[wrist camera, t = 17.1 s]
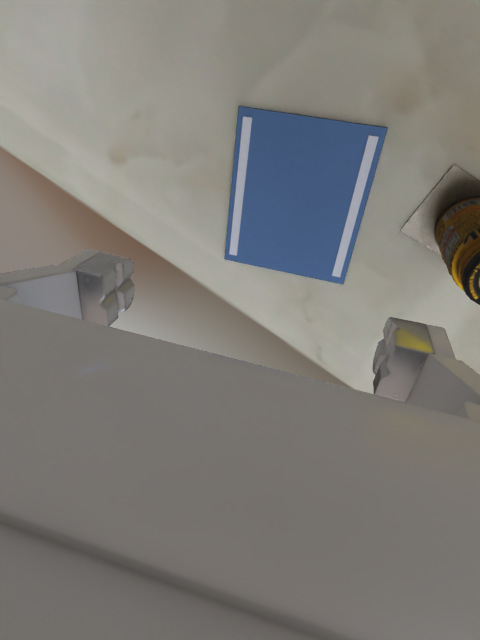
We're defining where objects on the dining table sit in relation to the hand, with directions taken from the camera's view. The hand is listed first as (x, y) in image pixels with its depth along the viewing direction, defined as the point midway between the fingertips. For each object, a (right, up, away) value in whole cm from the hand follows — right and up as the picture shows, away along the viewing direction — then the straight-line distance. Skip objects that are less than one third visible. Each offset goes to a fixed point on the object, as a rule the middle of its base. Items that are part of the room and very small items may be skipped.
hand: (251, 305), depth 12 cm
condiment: (+21, +9, +26) cm, 35 cm away
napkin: (+5, +12, +29) cm, 32 cm away
